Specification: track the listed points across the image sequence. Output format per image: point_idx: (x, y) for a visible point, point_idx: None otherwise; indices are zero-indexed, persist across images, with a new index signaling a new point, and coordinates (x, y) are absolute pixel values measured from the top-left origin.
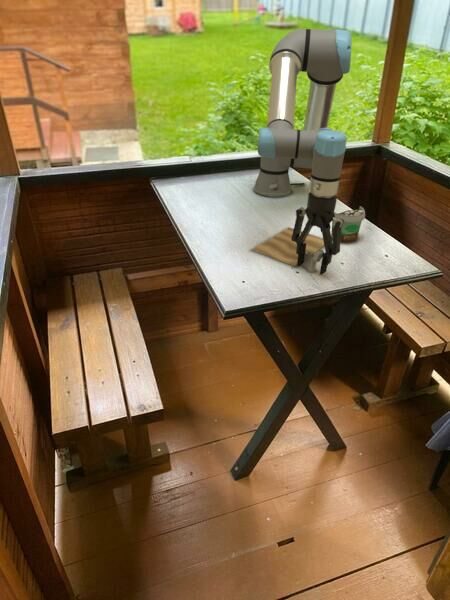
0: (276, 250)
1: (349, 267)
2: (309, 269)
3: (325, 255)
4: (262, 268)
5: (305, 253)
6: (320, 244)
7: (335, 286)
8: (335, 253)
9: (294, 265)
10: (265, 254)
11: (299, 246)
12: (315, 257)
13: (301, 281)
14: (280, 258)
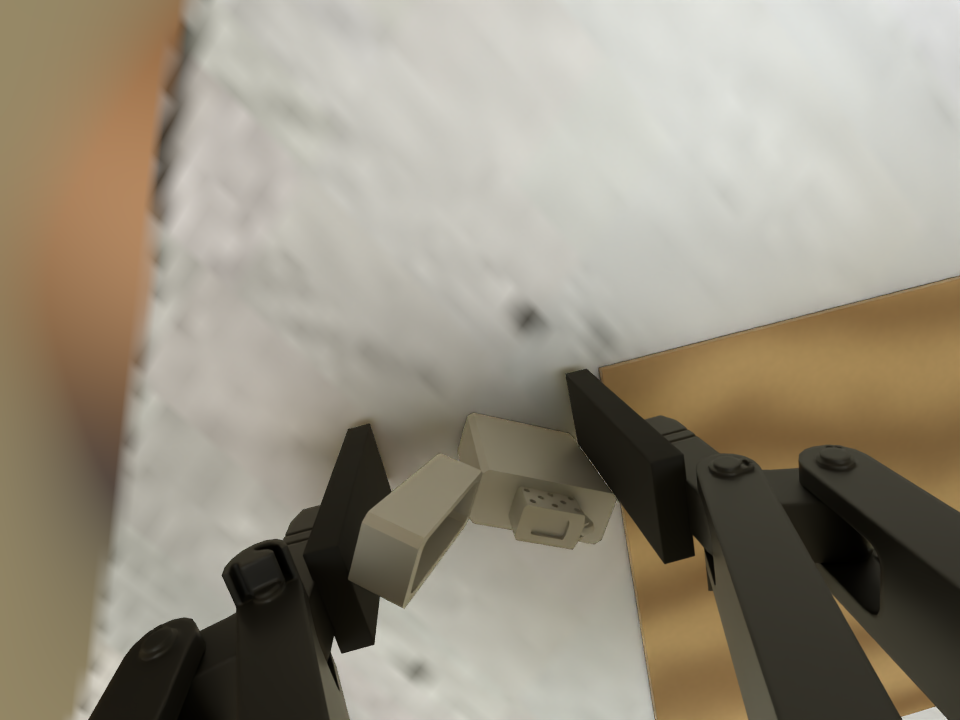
0: (854, 418)
1: (345, 677)
2: (487, 420)
3: (272, 544)
4: (766, 114)
5: (605, 491)
6: (682, 716)
7: (183, 415)
8: (131, 658)
9: (611, 370)
10: (883, 301)
11: (678, 451)
12: (436, 481)
13: (402, 239)
14: (758, 355)
